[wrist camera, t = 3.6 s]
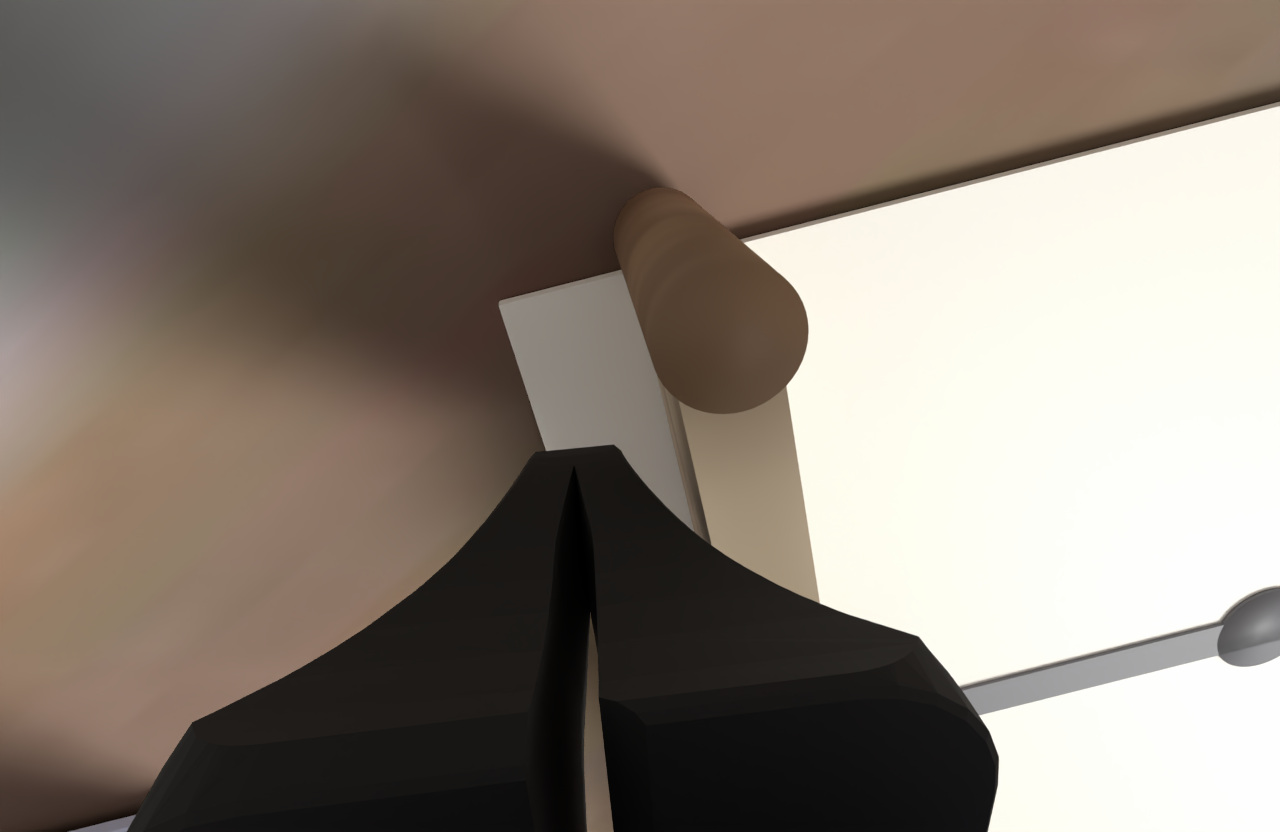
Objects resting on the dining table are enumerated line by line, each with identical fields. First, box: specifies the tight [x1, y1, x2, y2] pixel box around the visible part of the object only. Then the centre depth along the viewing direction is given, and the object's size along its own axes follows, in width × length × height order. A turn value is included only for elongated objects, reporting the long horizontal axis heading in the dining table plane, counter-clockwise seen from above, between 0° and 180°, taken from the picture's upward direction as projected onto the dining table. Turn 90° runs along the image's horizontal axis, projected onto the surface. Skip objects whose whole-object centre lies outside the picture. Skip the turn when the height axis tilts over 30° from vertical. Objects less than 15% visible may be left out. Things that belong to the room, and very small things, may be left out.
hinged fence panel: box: [613, 187, 820, 603], centre depth 12 cm, size 2×12×6 cm, turn 13°
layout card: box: [498, 102, 1280, 832], centre depth 18 cm, size 18×25×1 cm
